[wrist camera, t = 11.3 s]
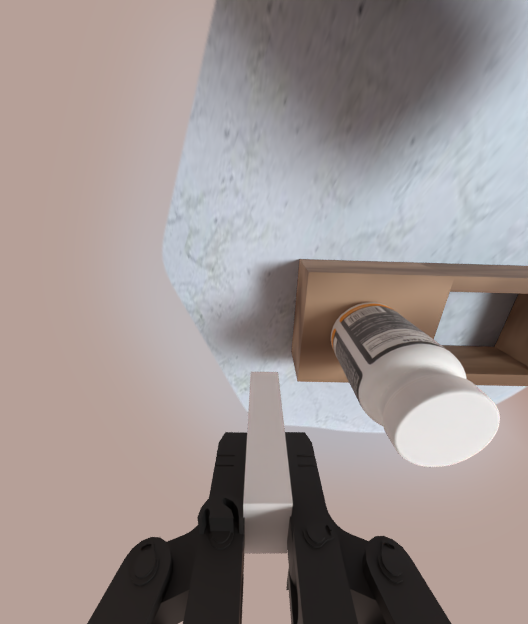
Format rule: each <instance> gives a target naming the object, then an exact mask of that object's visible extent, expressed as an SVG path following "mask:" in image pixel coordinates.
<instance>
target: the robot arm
mask: <svg viewBox="0 0 528 624" xmlns="http://www.w3.org/2000/svg"><path fill="white" fill-rule="evenodd" d="M287 549H288V560H289V571H288V578H287V590H289V598H290V611H291V624H451V622H450V621H449V619H448V618H447V616H446V614H445V613H444V611H443V609H442V608H441V606H440V605H439V603H438V602H437V600H436V598H435V597H434V595H433V593H432V592H431V590H430V589H429V587H428V586H427V584H426V582H425V580H424V579H423V577H422V576H421V574H420V572H419V571H418V569H417V567H416V566H415V564H414V562H413V561H412V559H411V558H410V556H409V555H408V554H407V552H406V551H405V550H404V549H403V547H402V546H400V545H399V544H398V543H397V542H395V541H394V540H393V539H390V538H388V537H385V536H376V537H374V538H373V539H371V540H370V541H367V540H364V539H362V538H359V537H356V536H354V535H351V534H349V533H347V532H345V531H344V530H342V529H341V528H340V527H338V526H337V524H336V523H335V522H334V521H333V520H332V518H331V517H330V515H329V513H328V510H327V507H326V504H325V499H324V495H323V490H322V486H321V481H320V477H319V472H318V468H317V463H316V459H315V456H314V450H313V446H312V442H311V441H310V439H309V438H308V436H307V435H306V434H305V433H303V432H302V433H300V432H298V433H297V432H285V431H284V421H283V412H282V403H281V394H280V385H279V376H278V372H251V377H250V395H249V412H248V431H247V433H233V432H229V433H228V432H226V433H225V434H224V436H223V437H222V439H221V440H220V442H219V445H218V450H217V457H216V462H215V468H214V473H213V479H212V484H211V490H210V496H209V499H208V500H207V501H206V502H205V504H204V505H203V506H202V508H201V510H200V512H199V515H198V526H197V527H195V528H194V529H193V530H192V531H191V532H189V533H187V534H185V535H183V536H180V537H178V538H176V539H173V540H170V541H168V542H166V541H164V540H163V539H161V538H158V537H150V538H148V539H145V540H143V541H141V542H140V543H139V544H137V545H136V546H135V547H134V548H132V550H131V551H130V553H129V554H128V555H127V556H126V558H125V559H124V561H123V563H122V565H121V566H120V568H119V570H118V571H117V573H116V575H115V576H114V578H113V580H112V582H111V583H110V585H109V587H108V589H107V591H106V592H105V594H104V596H103V597H102V599H101V601H100V603H99V604H98V606H97V608H96V609H95V611H94V613H93V615H92V616H91V618H90V620H89V622H88V623H87V624H178V623H180V622H182V621H183V624H242V602H243V601H242V600H243V569H244V553H287Z"/></svg>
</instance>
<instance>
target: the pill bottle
mask: <svg viewBox="0 0 528 624" xmlns="http://www.w3.org/2000/svg"><path fill="white" fill-rule="evenodd" d="M331 345H332V348H333V350H334V352H335V355H336V357H337V359H338V361H339V363H340V365H341V367H342V369H343V371H344V373H345V375H346V377H347V379H348V381H349V383H350V385H351V387H352V389H353V391H354V393H355V395H356V397H357V399H358V401H359V403H360V405H361V407H362V408H363V410H364V411H365V413H366V414H367V415H368V416H369V417H370V418H371V419H372V420H374V421H375V422H376V423H378V424H380V425H382V426H384V430H385V432H386V434H387V436H388V437H389V439H390V441H391V442H392V444H393V446H394V447H395V449H396V451H397V452H398V453H399V454H400V455H401V456H402V457H403V458H404V459H406V460H407V461H409V462H411V463H413V464H416V465H420V466H425V467H440V466H448V465H452V464H455V463H458V462H461V461H464V460H466V459H468V458H469V457H472V456H473V455H475V454H477V453H478V452H479V451H481V450H482V449H483V448H484V447H486V446H487V445H488V444H489V443H490V441H491V440H492V439H493V437H494V435H495V434H496V432H497V429H498V427H499V422H500V415H499V411H498V408H497V406H496V405H495V403H494V402H493V401H492V400H491V399H490V398H489V397H488V396H487V395H486V394H485V393H484V392H482V391H481V390H480V389H479V388H478V387H477V386H476V385H475V384H473V383H472V382H471V381H469V380H467V379H466V374H465V371H464V368H463V367H462V365H461V363H460V362H459V360H458V359H457V358H456V357H455V356H454V355H453V354H452V353H451V352H450V351H448V350H447V349H445V348H444V347H443V346H442V345H440V344H439V343H438V342H436V341H435V340H434V339H432V338H431V337H429V336H428V335H427V334H425V333H424V332H423V331H421V330H420V329H419V328H417V327H416V326H415V325H413V324H412V323H411V322H409V321H408V320H407V319H405V318H404V317H403V316H402V315H400V314H399V313H398V312H396V311H395V310H393V309H392V308H390V307H388V306H386V305H384V304H381V303H375V302H368V303H362V304H358V305H355V306H353V307H351V308H349V309H348V310H346V311H345V312H344V313H343V314H341V315H340V316H339V318H338V319H337V320H336V322H335V324H334V326H333V328H332V332H331Z"/></svg>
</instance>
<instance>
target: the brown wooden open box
mask: <svg viewBox="0 0 528 624" xmlns="http://www.w3.org/2000/svg"><path fill="white" fill-rule="evenodd" d="M449 292H485V293H519V294H518V296H517V298H516V301H515V303H514V305H513V307H512V309H511V312H510V314H509V316H508V318H507V320H506V322H505V325H504V327H503V329H502V331H501V333H500V336H499V338H498V340H497V342H496V344H495V347H490V346H447V345H442V346H443V347H444V348H445V349H447V350H448V351H450V352H451V353H452V354H453V355H454V356H455V357H456V358H457V359H458V360H459V362H460V363H461V365H462V367H463V368H464V371H465V374H466V379H467V380H469V381H471V382H472V383H473V384H475V385H499V386H528V266H513V265H479V264H445V263H411V262H377V261H343V260H309V259H299V270H298V281H297V293H296V305H295V316H294V328H293V339H292V351H291V352H292V357H293V362H294V366H295V371H296V376H297V381H303V382H349V381H348V379H347V377H346V375H345V373H344V371H343V369H342V367H341V365H340V363H339V361H338V359H337V357H336V355H335V352H334V350H333V348H332V345H331V332H332V328H333V326H334V324H335V322H336V320H337V319H338V318H339V316H340V315H341V314H343V313H344V312H345V311H346V310H348V309H349V308H351V307H353V306H355V305H358V304H362V303H368V302H375V303H381V304H384V305H386V306H388V307H390V308H392V309H393V310H395V311H396V312H398V313H399V314H400V315H402V316H403V317H404V318H405V319H407V320H408V321H409V322H411V323H412V324H413V325H415V326H416V327H417V328H419V329H420V330H421V331H423V332H424V333H425V334H427V335H428V336H429V337H431V338H432V339H434V336H435V333H436V330H437V328H438V325H439V322H440V319H441V316H442V313H443V310H444V307H445V304H446V301H447V298H448V295H449Z"/></svg>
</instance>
